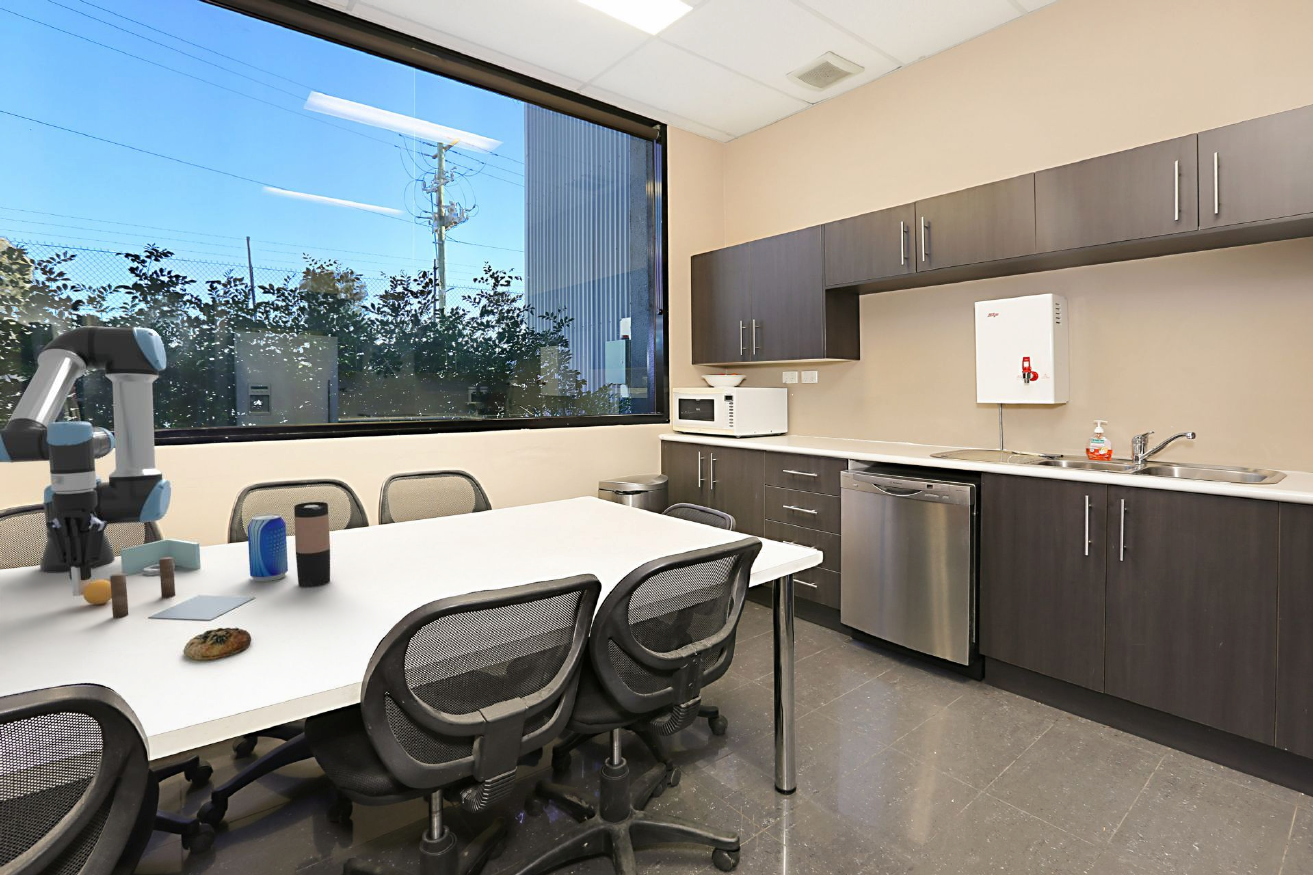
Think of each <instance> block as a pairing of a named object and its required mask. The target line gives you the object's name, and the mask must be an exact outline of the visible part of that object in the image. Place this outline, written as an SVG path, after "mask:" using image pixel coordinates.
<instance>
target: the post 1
mask: <svg viewBox="0 0 1313 875" xmlns="http://www.w3.org/2000/svg"><path fill="white" fill-rule="evenodd" d="M109 579H110V580H109V582H110V584H111V597H112V598H111V610H112V618H113V619H117V618H118V619H119V618H124V617H128V616H129V603H128V589H127V575H126V574H125V573H122V572H121V573H120V572H119V573H115V574H111V575H110V576H109Z"/></svg>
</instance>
